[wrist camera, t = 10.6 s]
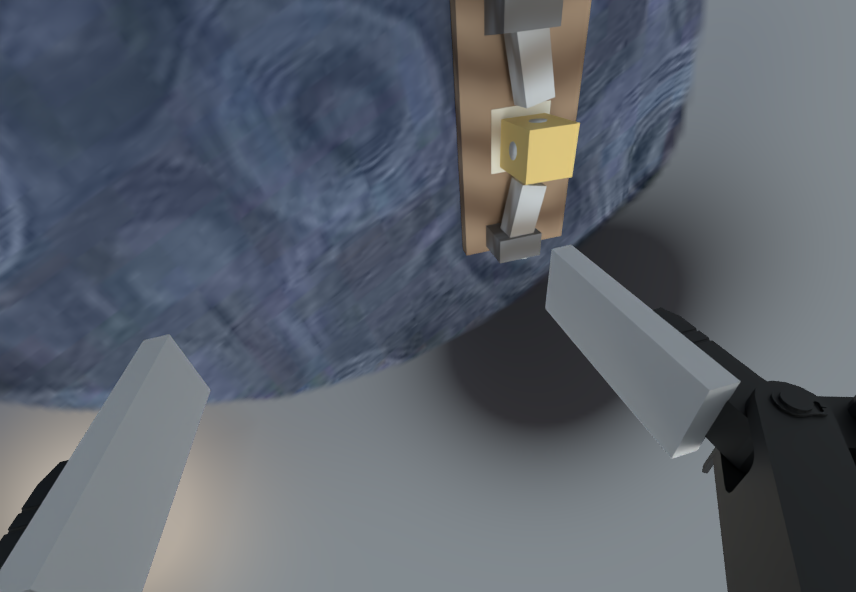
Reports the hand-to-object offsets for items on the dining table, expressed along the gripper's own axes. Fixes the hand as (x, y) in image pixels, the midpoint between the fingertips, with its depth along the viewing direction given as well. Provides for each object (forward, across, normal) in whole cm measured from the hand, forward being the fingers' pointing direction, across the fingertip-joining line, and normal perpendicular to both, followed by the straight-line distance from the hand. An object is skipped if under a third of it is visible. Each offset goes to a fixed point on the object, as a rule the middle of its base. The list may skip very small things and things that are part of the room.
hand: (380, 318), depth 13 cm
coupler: (+25, +17, -2) cm, 30 cm away
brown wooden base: (+26, +17, -1) cm, 31 cm away
